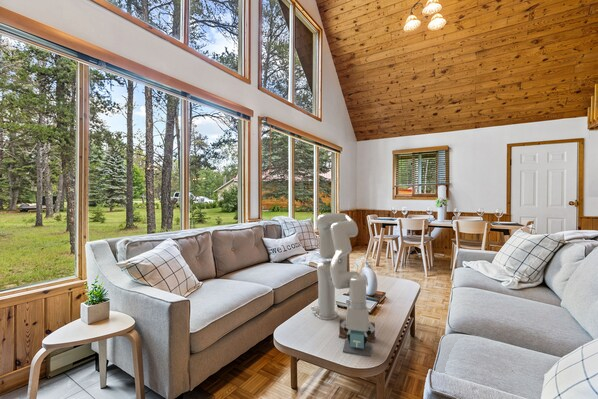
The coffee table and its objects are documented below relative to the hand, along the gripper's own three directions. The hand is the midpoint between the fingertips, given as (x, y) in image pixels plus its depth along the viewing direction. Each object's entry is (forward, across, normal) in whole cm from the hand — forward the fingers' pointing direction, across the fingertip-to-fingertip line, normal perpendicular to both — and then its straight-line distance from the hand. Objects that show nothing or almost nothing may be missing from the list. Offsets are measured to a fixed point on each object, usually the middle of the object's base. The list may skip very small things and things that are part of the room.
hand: (357, 342), depth 127 cm
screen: (+3, -1, +10) cm, 10 cm away
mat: (+3, 0, 0) cm, 3 cm away
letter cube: (+1, 0, 0) cm, 1 cm away
